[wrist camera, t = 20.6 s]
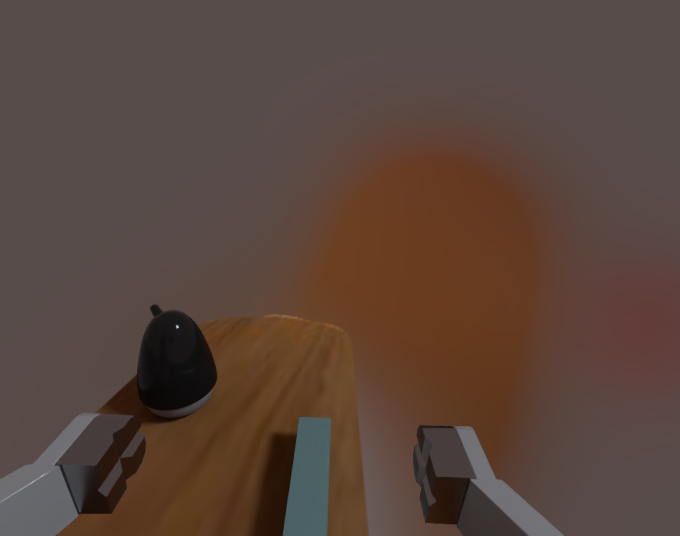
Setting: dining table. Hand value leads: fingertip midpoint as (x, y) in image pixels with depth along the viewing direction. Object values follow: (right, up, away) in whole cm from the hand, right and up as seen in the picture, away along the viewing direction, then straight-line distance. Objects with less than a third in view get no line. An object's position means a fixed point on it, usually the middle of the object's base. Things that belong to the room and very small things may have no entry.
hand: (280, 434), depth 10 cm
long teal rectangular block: (-2, -22, +26) cm, 34 cm away
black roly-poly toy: (-22, -15, +40) cm, 48 cm away
